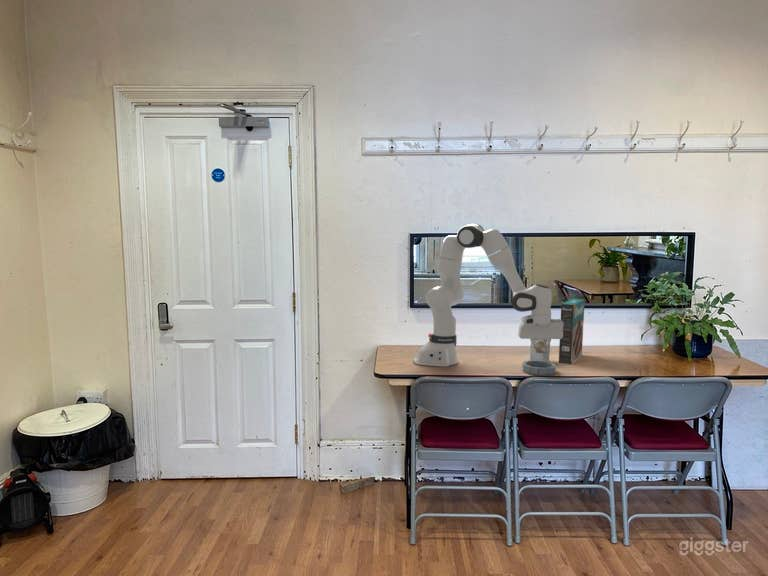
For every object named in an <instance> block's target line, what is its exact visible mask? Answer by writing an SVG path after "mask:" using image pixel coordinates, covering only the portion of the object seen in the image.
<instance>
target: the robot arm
mask: <svg viewBox="0 0 768 576" xmlns="http://www.w3.org/2000/svg"><path fill="white" fill-rule="evenodd" d="M456 233H457V234H456V235H455V234H454V235H453V234H452V235H447V236H446V237H445V238H444V239H443V242H442V245H441V249H440V253H439V258H438V259H439V260H438V265H437V266H438V267H437V273H438V275H439V277H440V286H435V287H432V288H431V289H429V290H428V291H427V292H426V295H425V301H426V304H427V305H428V306H429V308H430V310H431V313H432V318H433V333H431V332H430V333H428V338H429V341H428V342H427V343H425V344H423V345H422V346H421V347H420V348H419V350H418V352H417V356H414V358H413V363H414V364H415V365H417V366H418V365H419V366H430V367H432V366H433V367H444V368H445V367H450V366H453V365H457V364H458V363H459V359H458V355H457V344H458V343H457V340H458V339H457V338H458V337H457V334H456V333H457V332H456V331H457V329H456V328H457V326H456V325H457V319H456V318H455V316H454V315H453V311H452V306H453V307H454V306H456V305H458V304H459V303H460V302H462V300H464V297H465V293H464V290H463V288H462V285H461V270H462V262H463V255H464V251H465V249H466V248H467V249H472V248H478V247H481V248H482V250H483V251H484V252H485V254H486V257H487V259H488V261H489V262H490V265H492V267H493V268H494V269H495V270H496V271H498V272H499V273H501V274H502V275H503V276H504V278H505V280H506V281H507V284H508V286H509V287H510V290H511V291H512V297H511V306H512V307H513V309H514V310H515V311H518V312H521V313H523V312H529V311H530V312H531V314H529V315H525V316H522V317H521V319H520V320H521V322H520V324H519V326H518V334H517V335H518V337H519V338H520V340H521V339H524V340H525V339H526V340H527V339H529V341H530V344H531V343H532V348H536V344H534V343H533V341H534V339H547V343H546V344H545V348H548V345H549V343H550V344H551V342H552V340H560V339H562V338H563V325H564V323H563V321H562V320H561V318H557V319H556V318H552V310H551V307H552V298H553V297H552V295H553V294H552V290H551V287H549V286H548V285H544V284H540V283H535V284H533V285H532V286H531V287H526V285H525V284H524V282H523V279H521V277H520V274H519V273H518V270H517V268H516V263H515V259H514V255H513V252H512V250H511V248H510V246H509V244H508V242H507V240H506V239H505V237H504V236H503V234H502V233H501V231H499V229H495V228H492V229H488V230H485V229H484V228H483V226H482V225H480V224H479V223H468V224H466V225H463V226H461V227H460V228H459V230H458V231H457V232H456Z"/></svg>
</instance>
